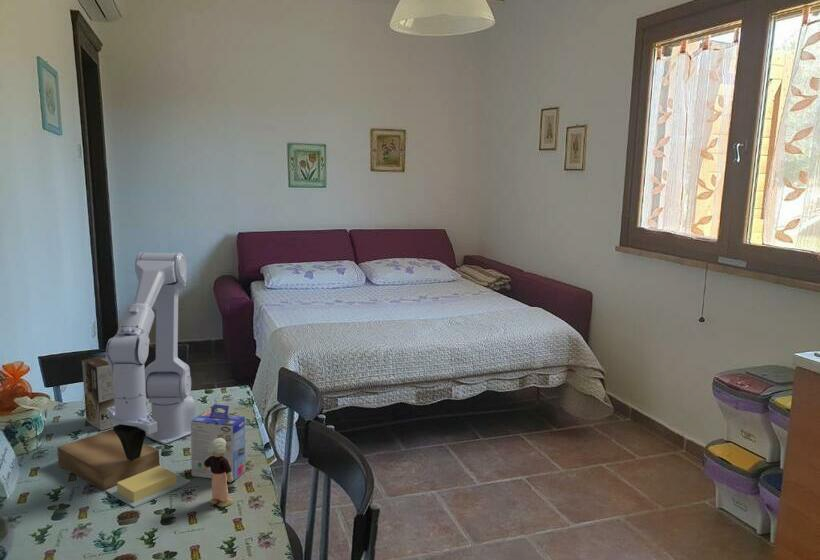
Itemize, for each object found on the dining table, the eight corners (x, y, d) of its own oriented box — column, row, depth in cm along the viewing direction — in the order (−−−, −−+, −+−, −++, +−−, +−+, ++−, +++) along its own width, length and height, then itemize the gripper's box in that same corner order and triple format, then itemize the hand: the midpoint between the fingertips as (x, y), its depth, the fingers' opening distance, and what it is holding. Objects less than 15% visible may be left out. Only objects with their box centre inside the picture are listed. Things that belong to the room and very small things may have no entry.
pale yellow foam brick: (176, 474, 120) (177, 483, 120) (159, 465, 123) (159, 474, 123) (133, 492, 112) (134, 502, 113) (116, 482, 116) (117, 492, 116)
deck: (113, 445, 137) (112, 428, 136) (159, 467, 127) (158, 450, 126) (58, 464, 127) (57, 447, 126) (104, 490, 117) (102, 471, 116)
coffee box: (127, 424, 149) (123, 361, 146) (100, 431, 144) (95, 367, 142) (111, 414, 155) (108, 354, 152) (85, 421, 150) (81, 359, 148)
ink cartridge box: (247, 470, 127) (246, 405, 125) (234, 482, 121) (233, 415, 119) (205, 464, 129) (202, 400, 126) (190, 477, 123) (188, 410, 121)
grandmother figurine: (242, 500, 115) (241, 437, 113) (230, 510, 111) (228, 446, 109) (209, 492, 117) (207, 431, 115) (196, 502, 114) (194, 439, 112)
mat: (161, 468, 127) (161, 467, 127) (190, 482, 121) (190, 481, 121) (105, 491, 117) (105, 490, 117) (134, 508, 111) (134, 506, 111)
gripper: (90, 391, 120) (94, 455, 122) (131, 408, 112) (135, 476, 114) (124, 382, 125) (127, 443, 127) (165, 397, 117) (168, 462, 119)
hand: (133, 458), depth 121 cm, fingers closed
